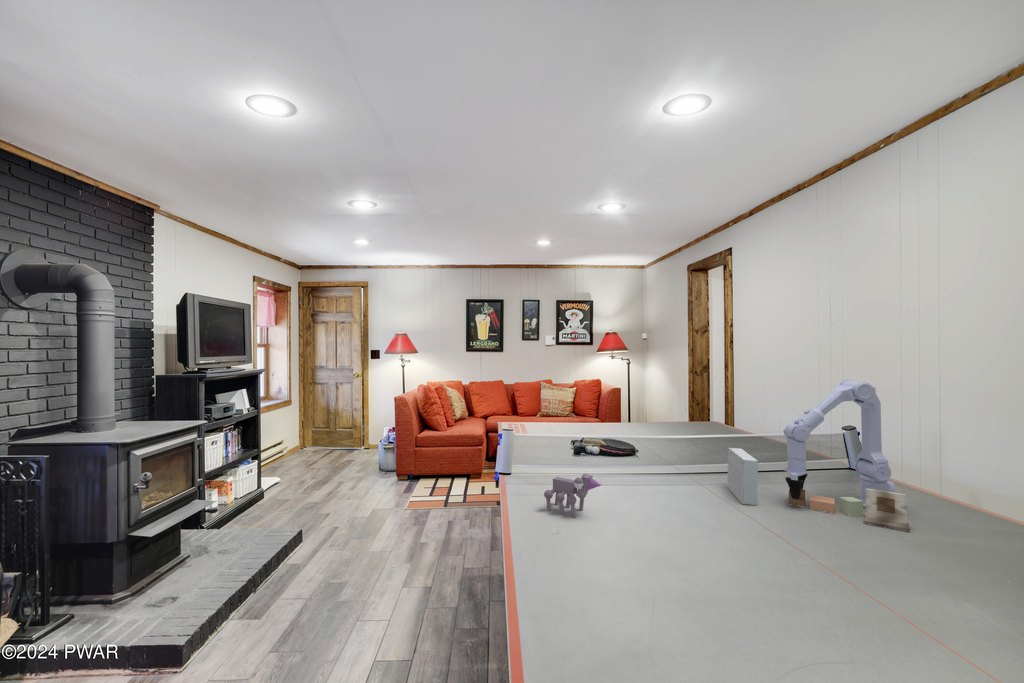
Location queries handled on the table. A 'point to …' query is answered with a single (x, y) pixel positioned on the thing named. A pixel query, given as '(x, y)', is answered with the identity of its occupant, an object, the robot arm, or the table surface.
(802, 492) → the walnut block
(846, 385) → the robot arm
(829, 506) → the base block
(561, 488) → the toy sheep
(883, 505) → the card
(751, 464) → the skincare box
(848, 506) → the sage block
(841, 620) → the table surface
